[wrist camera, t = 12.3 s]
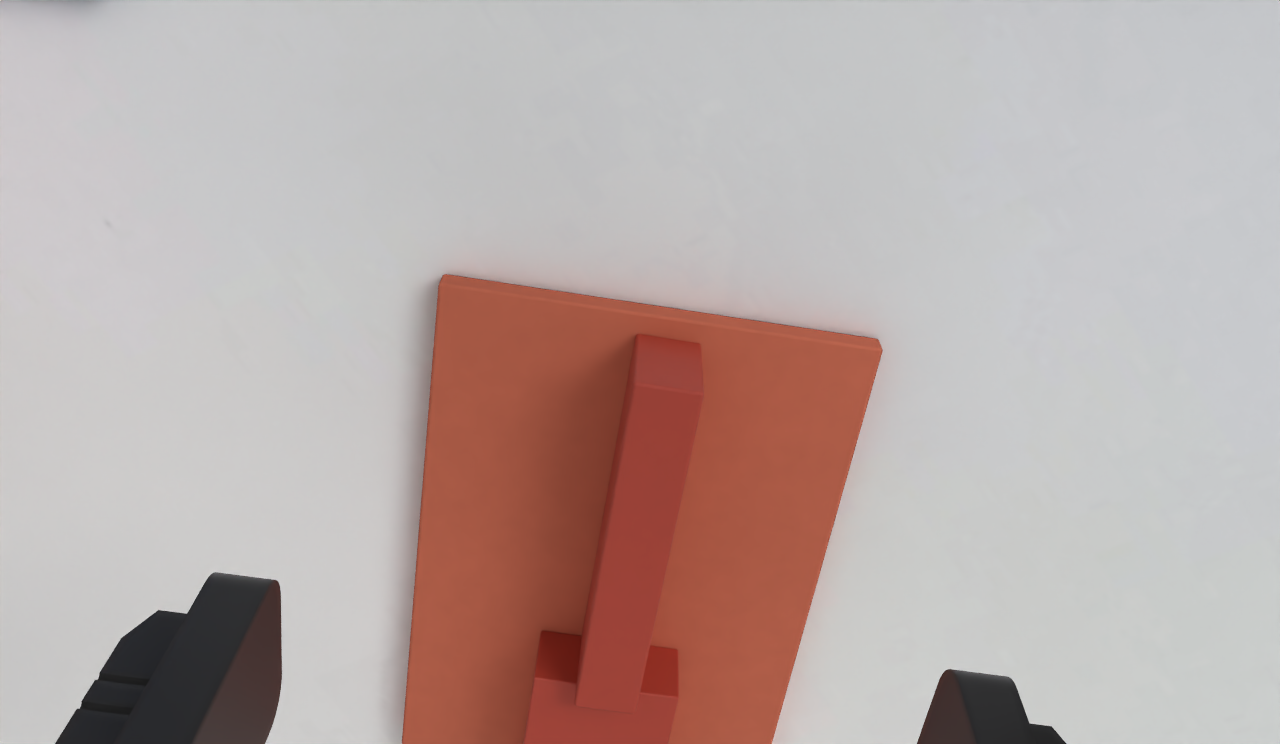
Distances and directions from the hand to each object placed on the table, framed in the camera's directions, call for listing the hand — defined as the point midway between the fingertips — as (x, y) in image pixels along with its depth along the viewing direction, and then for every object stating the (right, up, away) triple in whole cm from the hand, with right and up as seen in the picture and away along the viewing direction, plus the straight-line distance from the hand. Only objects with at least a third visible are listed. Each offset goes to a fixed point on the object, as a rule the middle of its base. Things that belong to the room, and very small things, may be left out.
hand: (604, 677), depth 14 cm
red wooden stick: (0, -1, +15) cm, 15 cm away
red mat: (0, -1, +15) cm, 15 cm away
